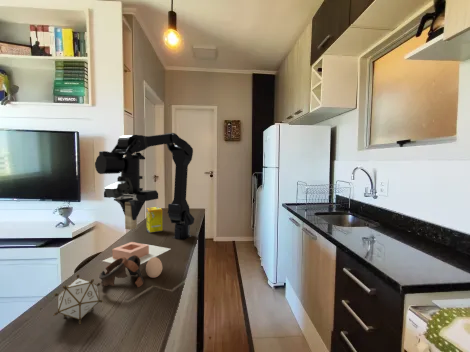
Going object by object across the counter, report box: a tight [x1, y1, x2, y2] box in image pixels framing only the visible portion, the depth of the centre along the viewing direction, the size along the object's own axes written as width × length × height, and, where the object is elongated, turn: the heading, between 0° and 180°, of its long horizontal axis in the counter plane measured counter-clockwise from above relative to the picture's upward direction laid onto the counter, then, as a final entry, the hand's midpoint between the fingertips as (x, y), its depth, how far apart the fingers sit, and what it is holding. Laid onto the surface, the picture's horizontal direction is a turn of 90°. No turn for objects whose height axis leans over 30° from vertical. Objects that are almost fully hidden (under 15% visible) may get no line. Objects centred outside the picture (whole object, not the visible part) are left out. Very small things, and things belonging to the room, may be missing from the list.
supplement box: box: [145, 206, 164, 234], centre depth 112 cm, size 6×6×11 cm
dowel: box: [124, 201, 138, 231], centre depth 82 cm, size 3×3×9 cm
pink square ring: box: [111, 241, 150, 259], centre depth 82 cm, size 8×8×3 cm
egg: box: [145, 256, 163, 279], centre depth 68 cm, size 4×4×6 cm
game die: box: [53, 273, 104, 325], centre depth 51 cm, size 9×8×10 cm
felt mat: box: [102, 243, 171, 265], centre depth 84 cm, size 18×13×1 cm
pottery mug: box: [99, 255, 145, 288], centre depth 65 cm, size 12×10×8 cm
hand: (131, 219), depth 82 cm, fingers closed on dowel, 2 cm apart
